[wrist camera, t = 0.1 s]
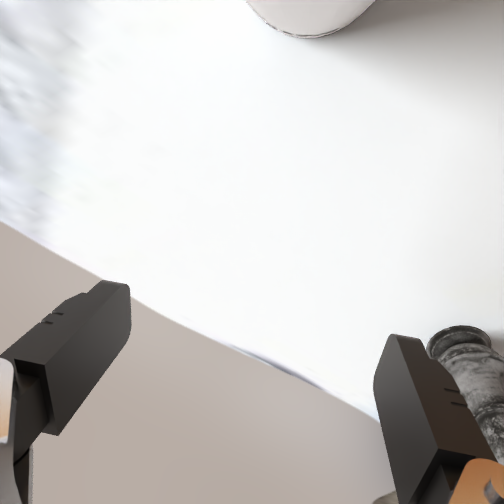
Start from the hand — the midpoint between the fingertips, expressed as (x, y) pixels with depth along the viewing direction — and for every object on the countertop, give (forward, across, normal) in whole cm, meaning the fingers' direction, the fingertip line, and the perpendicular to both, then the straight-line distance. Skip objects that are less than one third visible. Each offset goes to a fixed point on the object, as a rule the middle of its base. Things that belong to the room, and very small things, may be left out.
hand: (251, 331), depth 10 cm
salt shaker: (+18, -18, +12) cm, 28 cm away
